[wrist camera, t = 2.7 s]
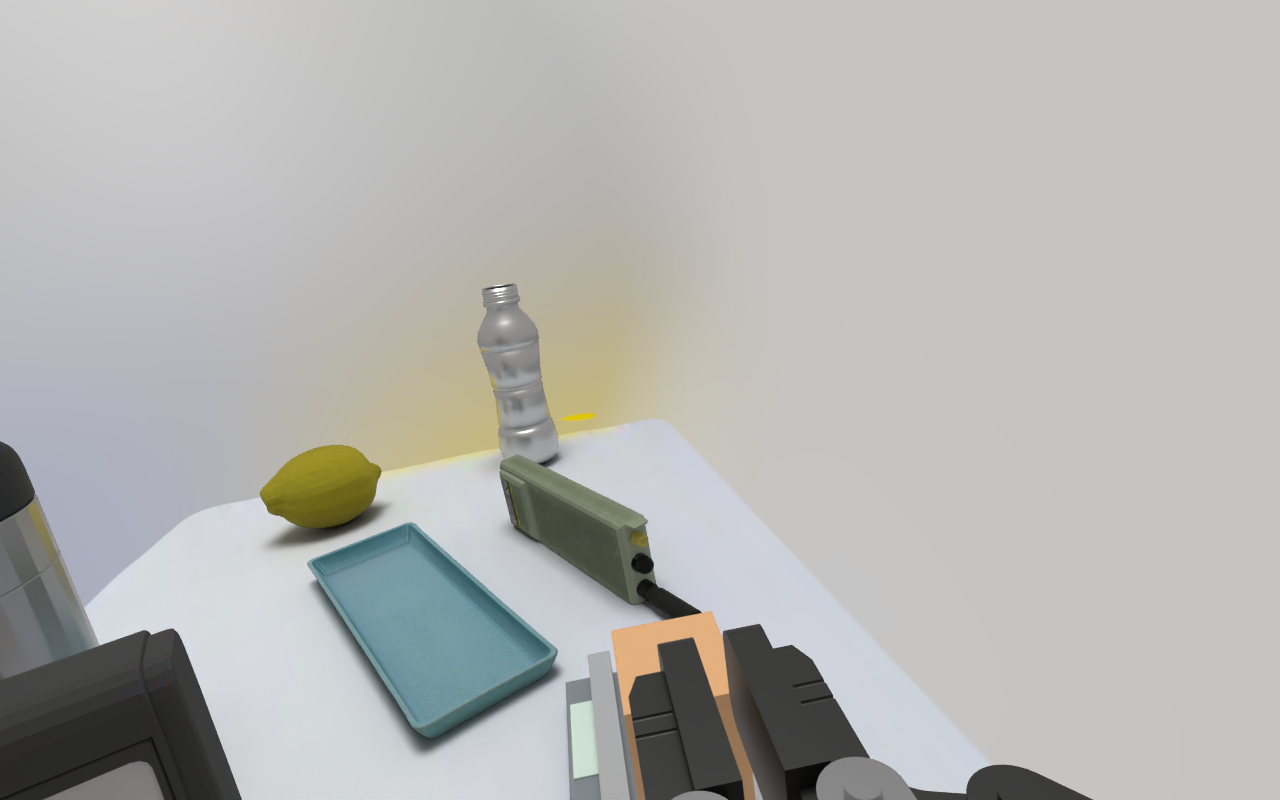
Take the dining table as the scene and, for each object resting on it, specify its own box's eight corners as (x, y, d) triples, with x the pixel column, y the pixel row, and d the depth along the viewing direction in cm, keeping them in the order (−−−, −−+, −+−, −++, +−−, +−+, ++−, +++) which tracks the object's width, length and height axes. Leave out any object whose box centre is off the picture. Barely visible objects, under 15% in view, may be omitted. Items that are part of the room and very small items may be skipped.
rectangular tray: (566, 678, 42) (560, 644, 41) (423, 762, 37) (413, 725, 36) (418, 544, 63) (412, 520, 62) (313, 587, 58) (305, 561, 57)
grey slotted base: (884, 1016, 23) (882, 951, 22) (588, 1092, 22) (573, 1027, 21) (739, 669, 40) (734, 625, 39) (570, 704, 39) (561, 660, 38)
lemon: (386, 495, 74) (368, 425, 72) (395, 521, 67) (376, 445, 65) (276, 526, 70) (253, 454, 67) (274, 557, 63) (249, 477, 61)
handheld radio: (540, 515, 65) (719, 624, 45) (509, 529, 63) (680, 650, 43) (525, 450, 63) (705, 535, 43) (492, 463, 61) (664, 557, 41)
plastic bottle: (573, 456, 78) (543, 280, 72) (525, 478, 73) (489, 292, 68) (538, 447, 82) (507, 281, 77) (492, 467, 78) (455, 292, 72)
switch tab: (772, 940, 24) (746, 696, 21) (666, 965, 24) (625, 722, 21) (734, 818, 29) (709, 606, 26) (646, 838, 28) (610, 626, 26)
